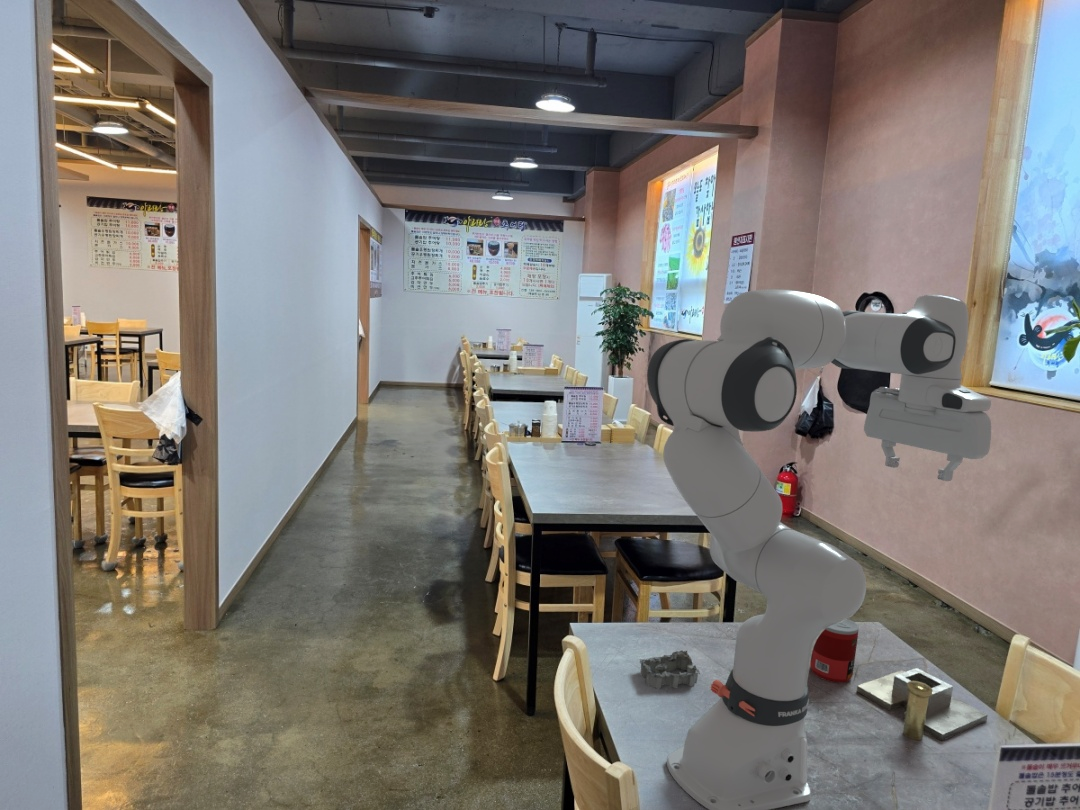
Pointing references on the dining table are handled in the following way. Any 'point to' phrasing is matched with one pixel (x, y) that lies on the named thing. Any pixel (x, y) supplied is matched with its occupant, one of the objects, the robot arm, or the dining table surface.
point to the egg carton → (669, 664)
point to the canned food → (835, 652)
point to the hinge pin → (916, 709)
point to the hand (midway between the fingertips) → (917, 473)
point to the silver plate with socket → (942, 708)
